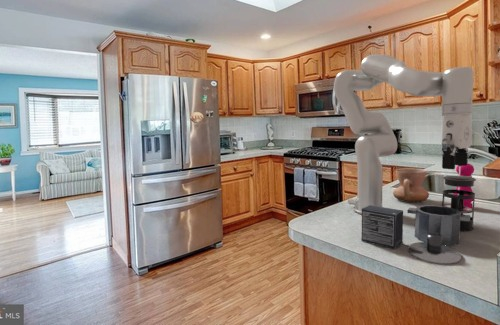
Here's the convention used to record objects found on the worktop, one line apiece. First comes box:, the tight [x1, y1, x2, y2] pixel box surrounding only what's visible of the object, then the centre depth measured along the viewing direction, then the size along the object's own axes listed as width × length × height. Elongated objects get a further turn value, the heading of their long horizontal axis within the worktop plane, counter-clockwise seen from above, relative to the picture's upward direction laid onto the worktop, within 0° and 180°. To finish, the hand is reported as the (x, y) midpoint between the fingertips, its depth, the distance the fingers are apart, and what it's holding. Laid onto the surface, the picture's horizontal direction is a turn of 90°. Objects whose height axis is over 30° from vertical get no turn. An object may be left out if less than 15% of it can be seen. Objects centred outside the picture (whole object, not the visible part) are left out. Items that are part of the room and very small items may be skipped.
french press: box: [441, 160, 476, 232], centre depth 102 cm, size 12×9×23 cm
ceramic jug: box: [392, 167, 430, 203], centre depth 137 cm, size 18×14×14 cm
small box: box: [360, 205, 404, 250], centre depth 93 cm, size 11×6×10 cm, turn 45°
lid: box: [408, 233, 462, 265], centre depth 83 cm, size 12×12×6 cm
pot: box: [406, 204, 471, 247], centre depth 94 cm, size 16×12×9 cm
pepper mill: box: [452, 159, 475, 209], centre depth 124 cm, size 7×7×20 cm
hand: (454, 167), depth 92 cm, fingers open, 9 cm apart
